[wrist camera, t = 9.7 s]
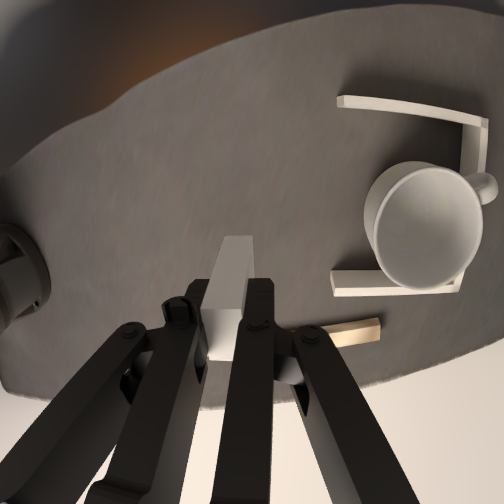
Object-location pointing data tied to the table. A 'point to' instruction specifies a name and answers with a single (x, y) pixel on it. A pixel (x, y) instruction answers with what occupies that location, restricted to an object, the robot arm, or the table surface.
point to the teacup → (426, 222)
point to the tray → (469, 164)
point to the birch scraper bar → (353, 332)
